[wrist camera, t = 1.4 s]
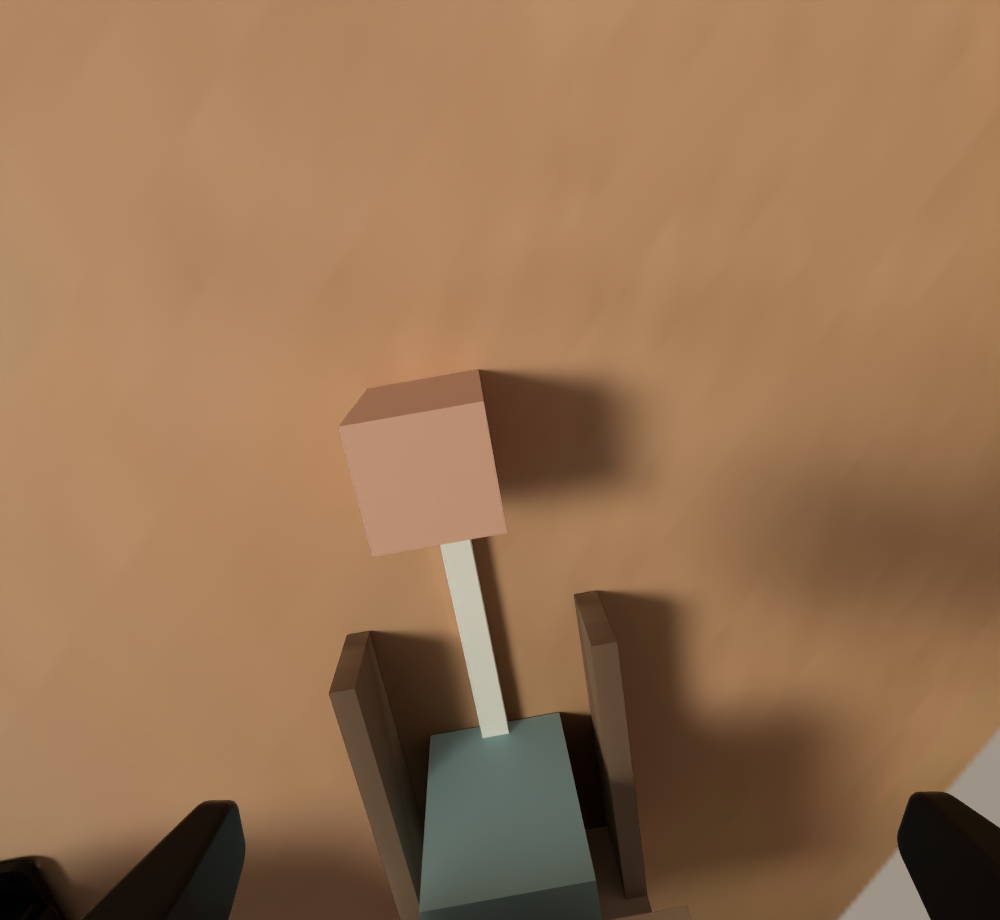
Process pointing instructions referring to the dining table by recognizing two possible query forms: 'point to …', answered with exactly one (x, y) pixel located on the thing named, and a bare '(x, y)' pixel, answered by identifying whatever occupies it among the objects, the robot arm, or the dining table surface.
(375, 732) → the shelf lane
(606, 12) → the dining table surface
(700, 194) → the dining table surface
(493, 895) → the tethered block
